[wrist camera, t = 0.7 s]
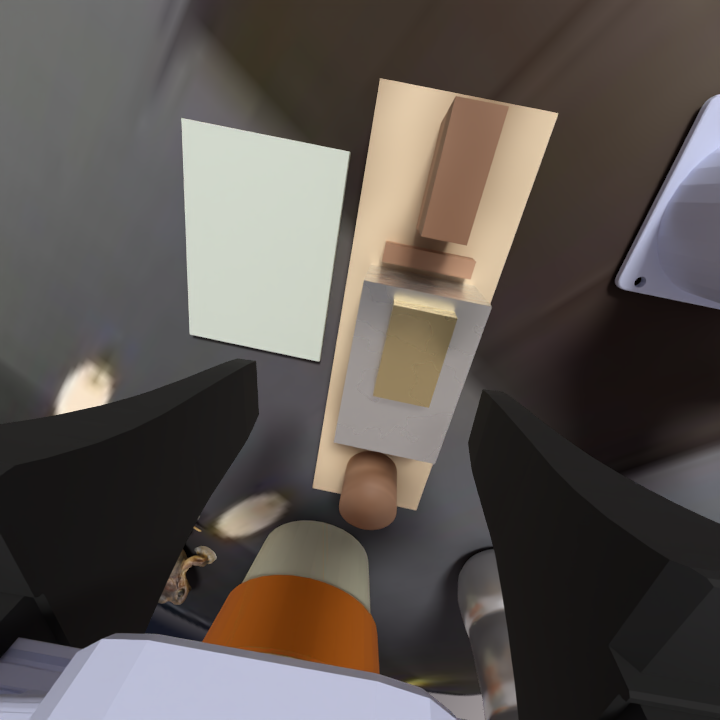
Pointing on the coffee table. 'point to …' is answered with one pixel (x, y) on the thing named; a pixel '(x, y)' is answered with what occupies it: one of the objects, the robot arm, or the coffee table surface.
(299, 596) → the reusable coffee cup
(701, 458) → the coffee table surface
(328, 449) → the hand plane
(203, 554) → the frog figurine
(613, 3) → the coffee table surface
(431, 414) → the brass-inlaid steel block
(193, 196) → the felt pad
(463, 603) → the plastic bottle
